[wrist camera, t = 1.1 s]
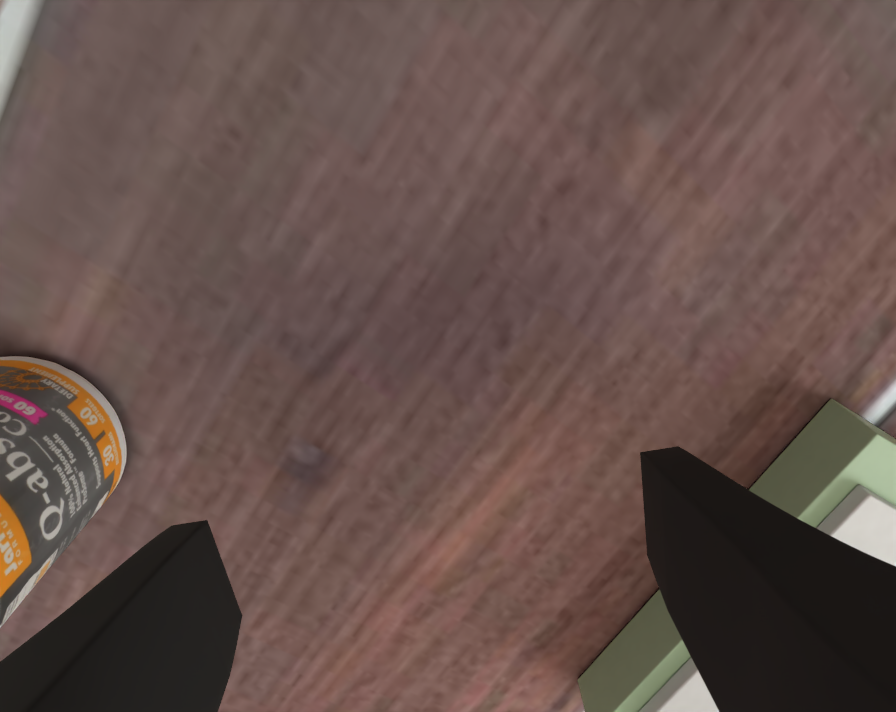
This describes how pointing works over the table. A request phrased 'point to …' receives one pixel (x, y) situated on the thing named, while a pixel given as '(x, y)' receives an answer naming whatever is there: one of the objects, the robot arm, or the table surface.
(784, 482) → the scale
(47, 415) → the pill bottle
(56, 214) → the table surface
